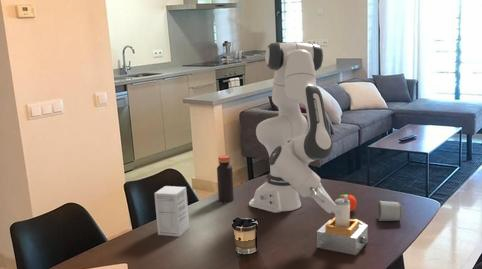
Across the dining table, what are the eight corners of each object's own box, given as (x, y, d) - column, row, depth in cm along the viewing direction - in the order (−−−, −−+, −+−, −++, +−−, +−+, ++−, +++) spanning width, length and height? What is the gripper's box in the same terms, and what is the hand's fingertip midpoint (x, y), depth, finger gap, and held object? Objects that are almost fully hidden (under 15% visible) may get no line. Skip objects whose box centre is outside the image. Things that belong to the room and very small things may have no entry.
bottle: (236, 198, 237) (234, 155, 233) (228, 203, 231) (226, 159, 227) (224, 196, 241) (221, 154, 236) (215, 201, 235) (213, 157, 231)
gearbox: (317, 247, 183) (316, 225, 181) (330, 235, 193) (329, 214, 191) (359, 255, 175) (359, 233, 174) (370, 242, 185) (371, 220, 184)
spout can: (332, 229, 182) (332, 196, 180) (337, 224, 187) (338, 192, 184) (346, 232, 180) (347, 198, 177) (351, 227, 184) (352, 194, 182)
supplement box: (190, 228, 206) (187, 186, 202) (180, 237, 197) (176, 194, 194) (168, 225, 209) (164, 185, 205) (157, 235, 200) (153, 192, 197)
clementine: (335, 212, 215) (335, 196, 213) (338, 207, 221) (338, 191, 219) (355, 214, 212) (355, 198, 210) (358, 208, 218) (358, 192, 216)
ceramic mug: (402, 223, 201) (402, 204, 199) (380, 223, 202) (380, 204, 200) (396, 214, 211) (396, 195, 210) (375, 214, 212) (375, 195, 210)
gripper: (321, 186, 169) (351, 213, 171) (308, 169, 189) (335, 193, 191) (307, 200, 169) (337, 227, 172) (296, 181, 189) (323, 206, 192)
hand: (336, 209), depth 182 cm, fingers open, 8 cm apart
